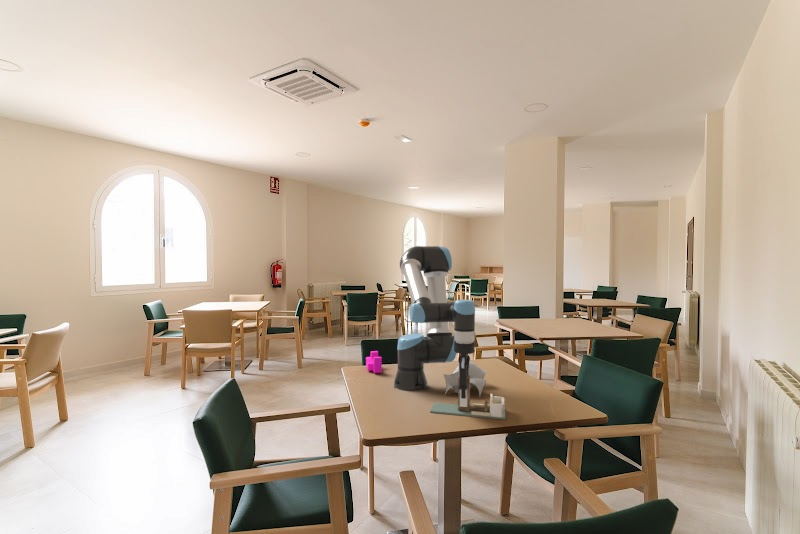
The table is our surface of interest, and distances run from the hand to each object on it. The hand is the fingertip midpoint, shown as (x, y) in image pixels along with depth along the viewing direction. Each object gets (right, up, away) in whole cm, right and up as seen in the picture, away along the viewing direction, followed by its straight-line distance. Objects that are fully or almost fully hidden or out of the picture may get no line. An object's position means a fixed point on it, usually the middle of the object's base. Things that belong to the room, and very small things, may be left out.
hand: (464, 403), depth 148 cm
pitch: (+1, -3, 0) cm, 3 cm away
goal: (+12, -2, -3) cm, 12 cm away
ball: (+11, 0, -3) cm, 11 cm away
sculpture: (+5, -3, +28) cm, 29 cm away
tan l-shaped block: (+3, -2, -1) cm, 4 cm away
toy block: (-38, -2, +58) cm, 69 cm away
